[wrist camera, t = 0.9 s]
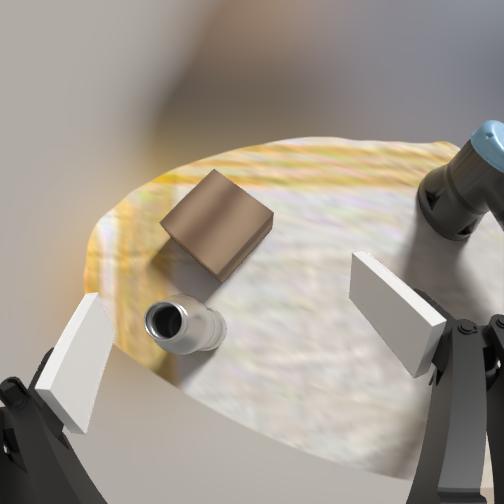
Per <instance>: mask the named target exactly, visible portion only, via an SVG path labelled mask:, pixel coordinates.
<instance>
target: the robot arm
mask: <svg viewBox="0 0 504 504" xmlns="http://www.w3.org/2000/svg"><path fill="white" fill-rule="evenodd" d="M419 202H420V206H421V209H422V211H423V213H424V215H425V217H426V219H427V221H428V222H429V223H430V225H431V226H432V227H433V228H434V229H435V230H436V231H437V232H438V233H439V234H440V235H442V236H443V237H445V238H447V239H450V240H455V241H457V240H462V239H464V238H466V237H468V236H469V235H471V234H472V233H473V232H474V231H475V229H476V228H477V226H478V224H479V223H480V221H481V219H482V218H483V216H484V214H485V213H487V212H488V211H491V213H492V214H493V215H494V217H495V218H496V220H497V222H498V223H499V225H500V226H501V228H502V230H503V231H504V124H503V123H501V122H499V121H495V120H489V121H486V122H484V123H483V124H482V125H481V126H480V127H479V129H478V130H477V131H475V132H473V134H472V135H471V138H470V140H469V141H468V142H467V143H466V144H465V145H464V147H463V148H462V149H461V150H460V151H459V152H458V153H457V155H456V156H455V157H454V158H453V159H452V160H451V161H450V163H449V164H446V165H444V166H442V167H439V168H437V169H434V170H432V171H431V172H429V173H428V174H427V175H426V176H425V178H424V179H423V180H422V181H421V183H420V186H419ZM349 298H350V299H351V301H352V302H353V303H354V304H355V305H356V307H357V308H358V309H359V310H360V311H361V313H362V314H363V315H364V316H365V318H366V319H367V320H368V321H369V322H370V324H371V325H372V326H373V327H374V329H375V330H376V331H377V332H378V334H379V335H380V336H381V337H382V339H383V340H384V341H385V342H386V344H387V345H388V346H389V347H390V349H391V350H392V351H393V352H394V354H395V355H396V356H397V358H398V359H399V360H400V361H401V363H402V364H403V365H404V367H405V368H406V369H407V371H408V372H409V373H410V374H411V376H412V377H413V378H416V377H419V376H421V375H423V374H425V373H427V372H428V370H429V367H430V365H431V363H433V364H434V365H435V366H436V369H435V371H434V373H433V375H432V378H431V380H430V382H429V385H431V384H432V382H433V387H432V395H431V402H430V409H429V415H428V421H427V427H426V432H425V437H424V442H423V446H422V451H421V455H420V459H419V463H418V466H417V470H416V474H415V477H414V481H413V484H412V487H411V490H410V493H409V496H408V499H407V502H406V504H487V501H486V498H485V497H483V496H482V495H480V486H481V480H482V474H483V466H484V457H485V445H486V431H487V436H488V442H489V448H490V455H491V463H492V472H493V483H494V502H495V503H494V504H504V315H500V314H496V315H493V316H492V317H491V319H490V321H489V324H488V325H486V326H480V327H478V326H477V325H476V324H475V323H473V322H471V321H469V320H466V319H460V320H455V319H454V318H453V317H452V316H451V315H450V314H449V313H448V312H446V311H445V310H444V309H443V308H442V307H441V306H440V305H437V303H436V302H435V301H434V300H432V299H431V298H430V297H429V296H428V295H427V294H425V293H424V292H422V291H420V290H417V289H411V288H410V287H408V286H407V285H406V284H405V283H404V282H403V281H401V280H400V279H399V278H398V277H397V276H395V275H394V274H393V273H392V272H391V271H389V270H388V269H387V268H386V267H384V266H383V265H382V264H381V263H380V262H378V261H377V260H376V259H375V258H373V257H372V256H371V255H370V254H368V253H367V252H366V251H360V252H354V253H352V265H351V280H350V293H349ZM114 338H115V333H114V331H113V328H112V326H111V324H110V321H109V319H108V316H107V314H106V311H105V309H104V306H103V304H102V301H101V299H100V296H99V293H98V292H97V293H90V294H86V295H85V296H84V298H83V300H82V301H81V303H80V304H79V306H78V308H77V309H76V311H75V313H74V314H73V316H72V318H71V319H70V321H69V323H68V325H67V326H66V328H65V330H64V332H63V333H62V335H61V337H60V339H59V341H58V342H57V344H56V346H55V348H52V349H50V350H49V351H48V352H47V353H46V354H45V356H44V358H43V360H42V362H41V364H40V365H39V367H38V371H36V373H35V375H34V377H33V379H32V381H31V384H30V386H29V388H28V390H27V389H26V388H25V386H24V385H23V383H22V382H21V380H20V379H19V378H17V377H10V378H7V379H6V380H4V381H3V382H2V383H1V384H0V400H1V401H2V402H3V403H4V405H5V407H0V504H107V502H106V501H105V500H104V498H103V497H102V495H101V494H100V493H99V491H98V490H97V488H96V487H95V485H94V484H93V482H92V481H91V479H90V477H89V476H88V474H87V473H86V471H85V469H84V468H83V466H82V464H81V463H80V461H79V459H78V457H77V456H76V454H75V452H74V450H73V448H72V447H71V445H70V443H69V441H68V439H67V437H66V435H65V434H64V433H63V432H62V430H63V426H64V425H65V426H66V428H67V429H68V430H69V431H70V432H71V433H76V434H86V433H87V429H88V424H89V421H90V417H91V413H92V409H93V405H94V402H95V398H96V394H97V391H98V388H99V384H100V381H101V378H102V374H103V371H104V368H105V365H106V362H107V359H108V355H109V353H110V350H111V346H112V344H113V341H114ZM498 361H500V364H501V366H500V368H499V367H498V364H497V363H498ZM4 446H5V447H6V448H7V453H5V451H4Z"/></svg>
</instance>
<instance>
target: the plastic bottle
mask: <svg viewBox="0 0 504 504" xmlns="http://www.w3.org/2000/svg"><path fill="white" fill-rule="evenodd" d="M144 326H145V329H146V331H147V333H148V334H149V335H150V336H151V337H152V338H153V339H154V341H155V342H156V343H157V345H158V346H160V347H161V348H162V349H163V350H165V351H167V352H168V353H171V354H175V355H186V354H190V353H192V352H195V351H196V350H198V351H209V350H213V349H215V348H217V347H218V346H219V345H220V344H221V343H222V342H223V340H224V338H225V336H226V330H227V327H226V323H225V320H224V318H223V316H222V315H221V314H220V313H219V312H217V311H216V310H214V309H212V308H208V307H205V306H204V305H203V304H202V303H201V302H200V301H198V300H197V299H195V298H193V297H191V296H187V295H173V296H170V297H167V298H165V299H164V300H162V301H158V302H156V303H154V304H152V305H151V306H150V307H149V308H148V309H147V311H146V313H145V316H144Z"/></svg>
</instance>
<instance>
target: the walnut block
mask: <svg viewBox="0 0 504 504" xmlns="http://www.w3.org/2000/svg"><path fill="white" fill-rule="evenodd" d="M273 214H274V212H272V211H271V210H270V209H268V208H267V207H266V206H264V205H263V204H262V203H260V202H259V201H258V200H256V199H255V198H254V197H252V196H251V195H249V194H248V193H247V192H245V191H244V190H243V189H241V188H240V187H239V186H237V185H236V184H234V183H233V182H232V181H230V180H229V179H228V178H226V177H225V176H223V175H222V174H221V173H219V172H218V171H216V170H215V169H213V170H212V171H211V172H210V173H209V174H208V175H207V176H206V177H205V178H204V179H203V180H202V181H201V182H200V183H199V184H198V185H197V186H196V187H195V188H193V189H192V190H191V191H190V192H189V193H188V194H187V195H186V196H185V197H184V198H183V199H182V200H181V201H180V202H179V203H178V204H177V205H176V206H175V207H174V208H173V209H172V210H171V211H170V212H169V213H168V214H167V215H166V216H165V217H164V219H163V220H162V221H161V222H160V224H161V225H162V227H163V228H164V229H165V230H166V232H167V233H168V234H169V235H170V236H171V237H172V238H173V239H174V240H175V241H176V242H177V243H178V244H179V245H180V246H181V247H182V248H183V249H185V250H186V251H187V252H188V253H189V254H190V255H191V256H192V257H193V258H194V259H196V260H197V261H198V262H199V263H200V264H201V265H202V266H203V267H204V268H206V269H207V270H208V271H209V272H210V273H211V274H212V275H213V276H215V277H216V278H217V279H218V280H219V281H220V282H221V283H223V282H224V281H225V280H226V279H227V278H228V277H229V276H230V275H231V273H232V272H233V271H234V270H235V269H236V268H237V267H238V266H239V265H240V263H241V262H242V261H243V260H244V259H245V258H246V257H247V256H248V255H249V253H250V252H251V251H252V250H253V249H254V248H255V247H256V246H257V245H258V244H259V242H260V241H261V240H262V239H263V238H264V237H265V236H266V235H267V234H268V232H269V231H270V230H271V229H272V225H273Z"/></svg>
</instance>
